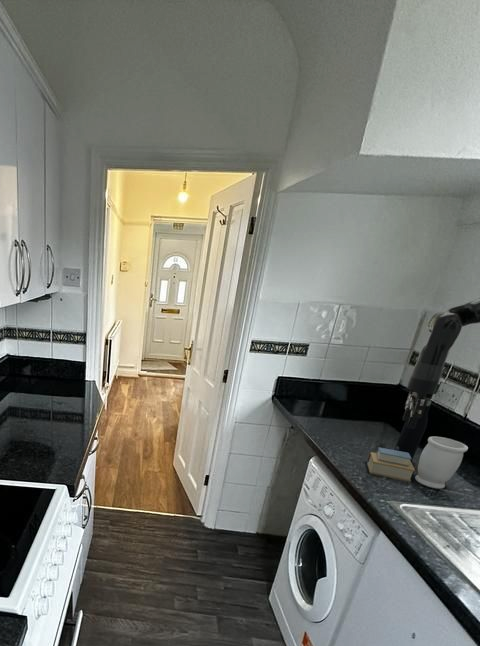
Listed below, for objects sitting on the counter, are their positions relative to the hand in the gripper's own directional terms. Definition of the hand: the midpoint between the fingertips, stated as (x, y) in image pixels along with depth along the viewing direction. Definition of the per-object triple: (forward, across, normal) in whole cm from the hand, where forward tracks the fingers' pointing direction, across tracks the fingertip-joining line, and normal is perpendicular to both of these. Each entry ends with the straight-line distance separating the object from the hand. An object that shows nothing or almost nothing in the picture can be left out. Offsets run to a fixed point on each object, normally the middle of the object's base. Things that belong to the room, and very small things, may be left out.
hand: (408, 424), depth 139 cm
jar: (+18, -2, -11) cm, 21 cm away
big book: (+18, 0, +1) cm, 18 cm away
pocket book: (+14, 0, +1) cm, 14 cm away
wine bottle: (+18, +15, -5) cm, 24 cm away
